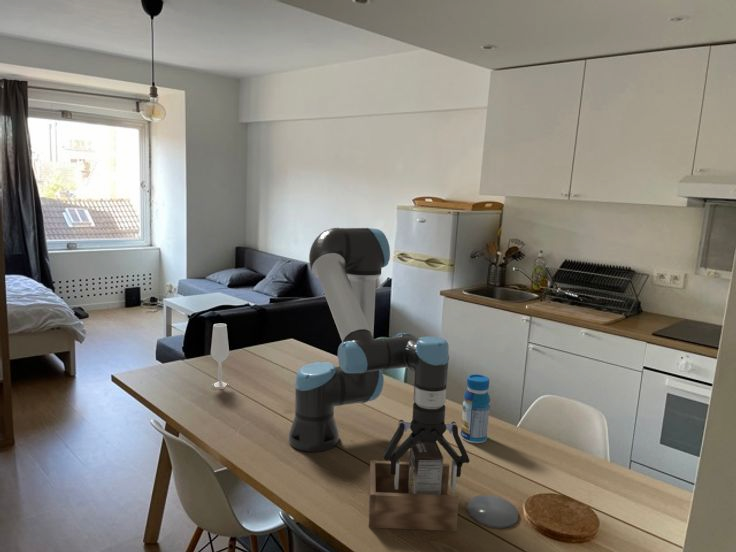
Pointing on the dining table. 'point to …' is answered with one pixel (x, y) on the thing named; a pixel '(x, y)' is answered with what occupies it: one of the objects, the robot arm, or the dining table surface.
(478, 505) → the slate coaster
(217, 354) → the champagne flute
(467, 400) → the beverage bottle
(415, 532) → the dining table surface
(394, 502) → the walnut u-shaped stand
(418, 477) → the coffee box
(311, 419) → the robot arm
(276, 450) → the dining table surface
